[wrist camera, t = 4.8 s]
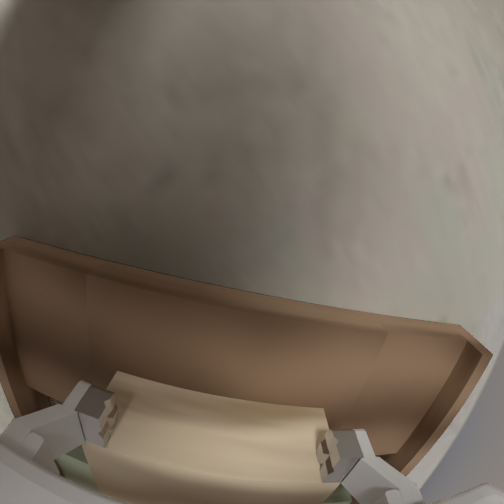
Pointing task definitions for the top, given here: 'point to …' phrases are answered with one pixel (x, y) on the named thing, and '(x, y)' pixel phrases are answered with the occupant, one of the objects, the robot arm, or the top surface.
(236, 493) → the block
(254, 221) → the top surface
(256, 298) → the brown shallow open piece
